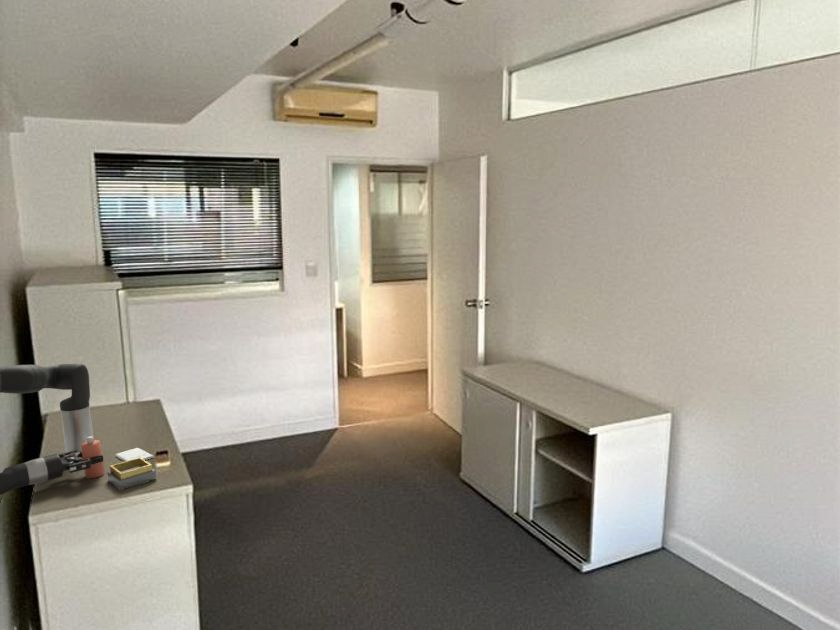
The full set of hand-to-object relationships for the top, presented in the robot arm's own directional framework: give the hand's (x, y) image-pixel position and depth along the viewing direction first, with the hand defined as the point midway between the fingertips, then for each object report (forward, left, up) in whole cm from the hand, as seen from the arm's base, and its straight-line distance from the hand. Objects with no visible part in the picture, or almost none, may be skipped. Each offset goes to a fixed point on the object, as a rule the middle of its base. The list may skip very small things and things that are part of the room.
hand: (98, 454), depth 203 cm
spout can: (0, -2, -7) cm, 7 cm away
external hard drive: (-6, +13, -7) cm, 16 cm away
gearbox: (+14, +5, -7) cm, 16 cm away
